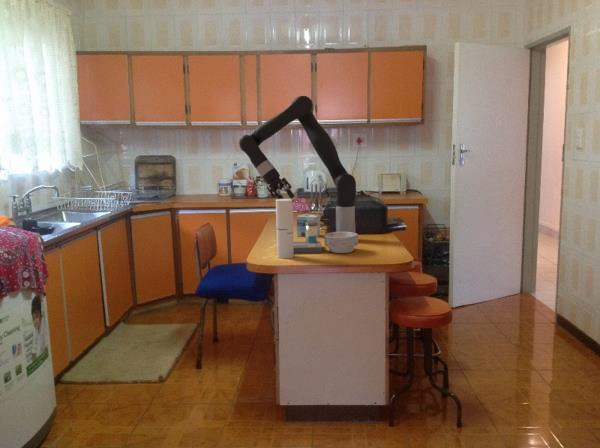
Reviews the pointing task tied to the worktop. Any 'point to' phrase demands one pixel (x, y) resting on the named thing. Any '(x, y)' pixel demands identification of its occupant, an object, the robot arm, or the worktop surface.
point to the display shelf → (307, 247)
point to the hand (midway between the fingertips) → (288, 200)
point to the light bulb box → (302, 222)
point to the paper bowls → (341, 241)
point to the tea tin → (311, 233)
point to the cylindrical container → (284, 228)
